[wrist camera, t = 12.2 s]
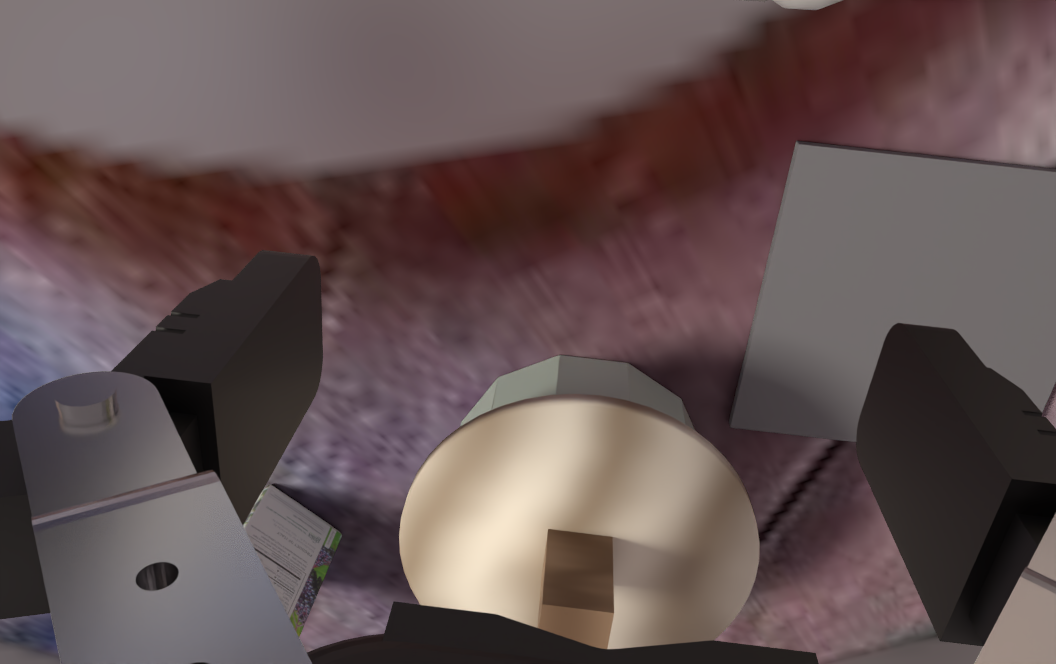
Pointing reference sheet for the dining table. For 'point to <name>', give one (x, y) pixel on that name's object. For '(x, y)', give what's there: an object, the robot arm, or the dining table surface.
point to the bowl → (580, 385)
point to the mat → (896, 279)
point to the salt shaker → (803, 3)
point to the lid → (583, 523)
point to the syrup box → (291, 550)
